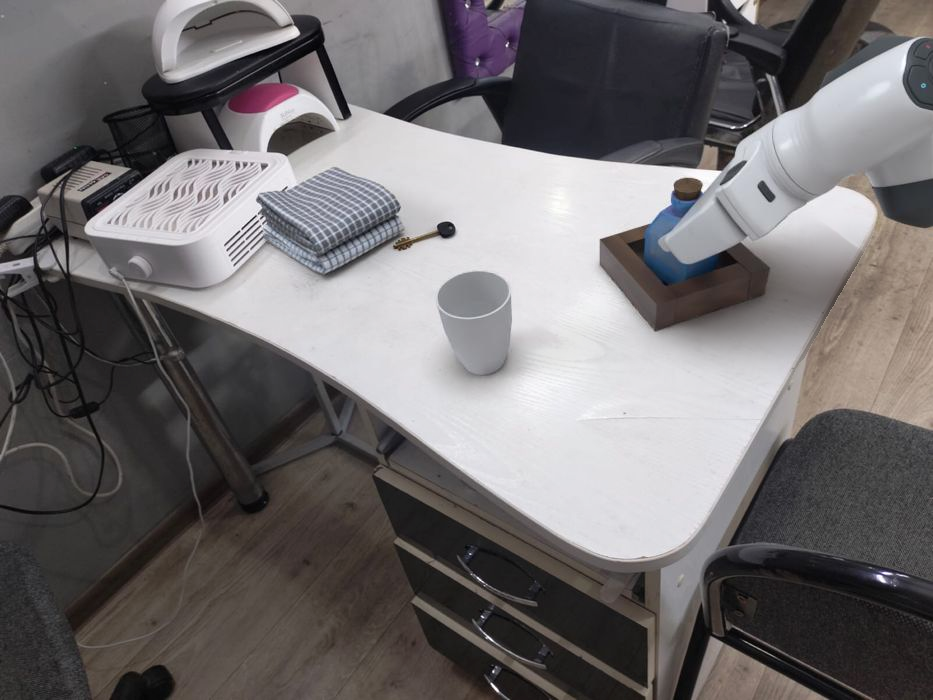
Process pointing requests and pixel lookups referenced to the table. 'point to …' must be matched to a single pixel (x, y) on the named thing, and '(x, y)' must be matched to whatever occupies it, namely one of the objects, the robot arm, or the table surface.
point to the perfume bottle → (667, 219)
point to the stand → (685, 299)
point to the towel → (330, 219)
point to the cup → (477, 318)
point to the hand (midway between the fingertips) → (678, 225)
